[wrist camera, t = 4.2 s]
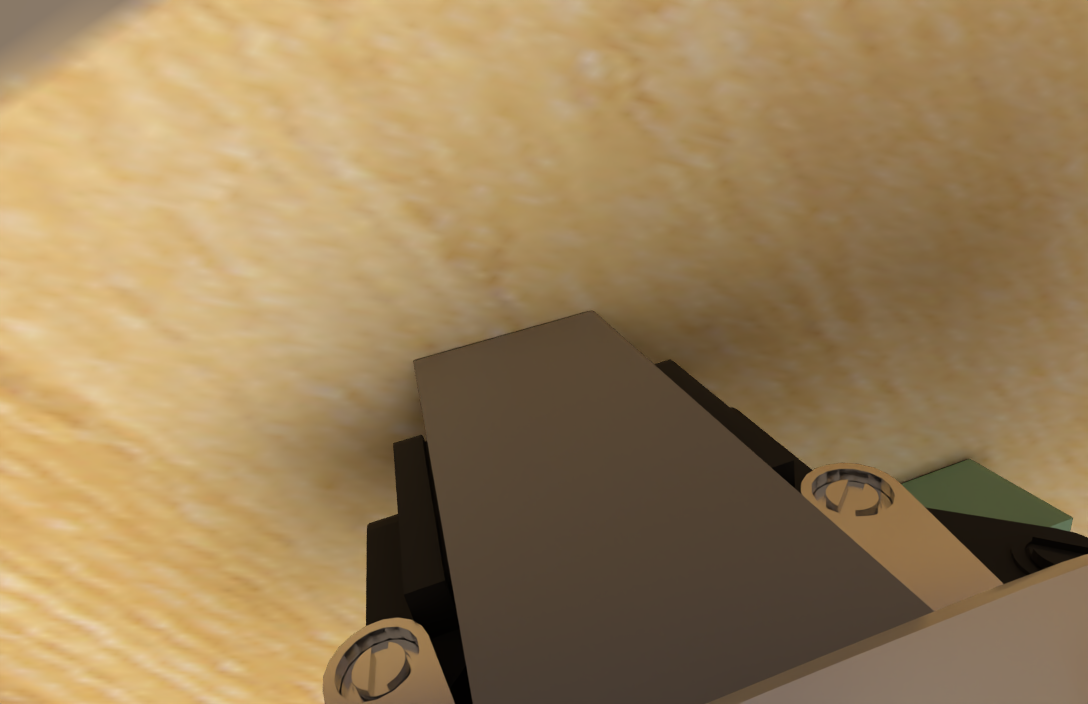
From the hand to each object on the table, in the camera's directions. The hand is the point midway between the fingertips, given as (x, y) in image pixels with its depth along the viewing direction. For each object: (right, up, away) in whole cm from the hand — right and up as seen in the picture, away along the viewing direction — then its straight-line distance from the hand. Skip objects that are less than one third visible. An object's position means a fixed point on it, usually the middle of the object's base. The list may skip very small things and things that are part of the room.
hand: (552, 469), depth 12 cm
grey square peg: (-1, +1, +2) cm, 2 cm away
